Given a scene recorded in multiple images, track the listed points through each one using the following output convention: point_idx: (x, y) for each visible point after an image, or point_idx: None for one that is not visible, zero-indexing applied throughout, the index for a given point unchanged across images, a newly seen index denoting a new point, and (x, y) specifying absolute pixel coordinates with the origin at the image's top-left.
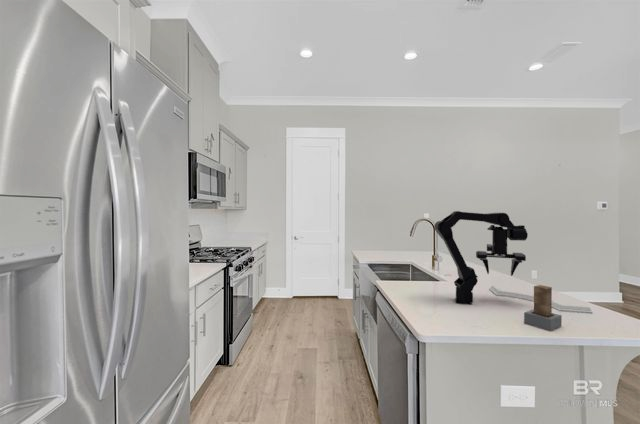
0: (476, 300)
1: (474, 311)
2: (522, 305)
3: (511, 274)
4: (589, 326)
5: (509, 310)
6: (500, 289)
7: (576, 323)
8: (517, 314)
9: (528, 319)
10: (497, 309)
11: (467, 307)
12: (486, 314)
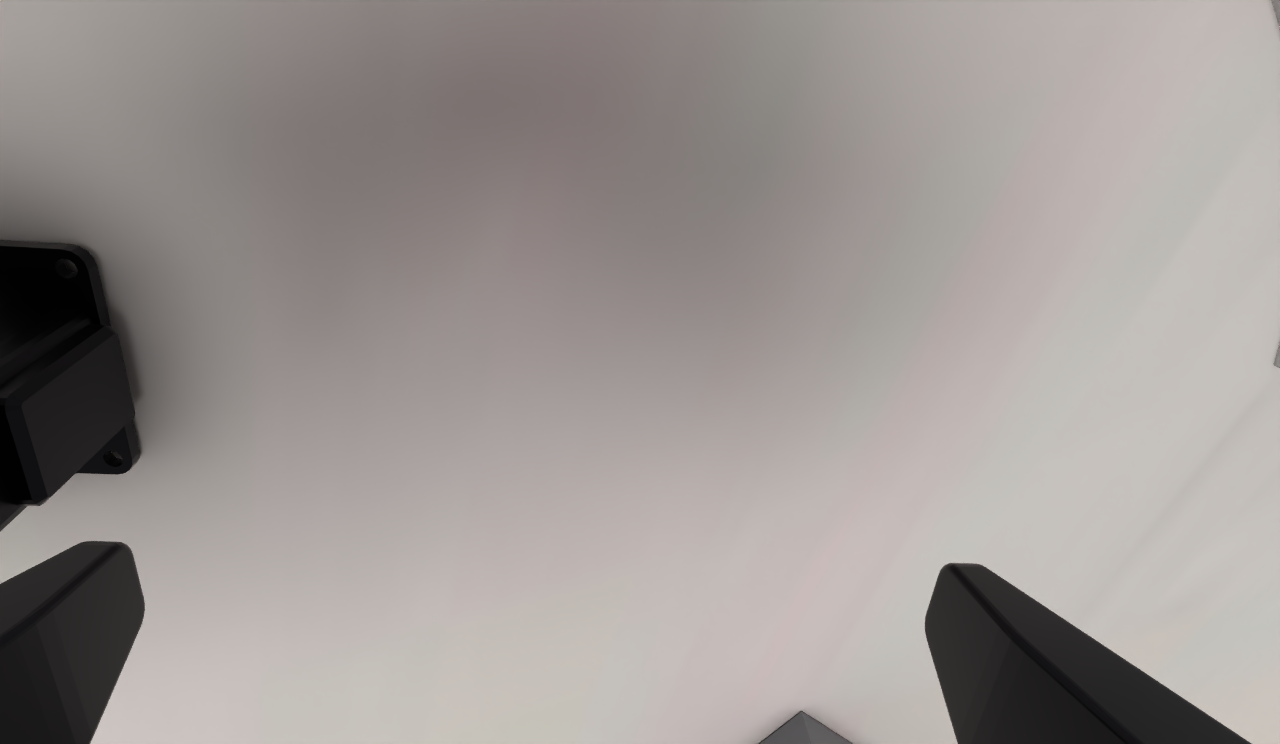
0: (193, 177)
1: (201, 689)
2: (904, 240)
3: (940, 673)
4: None
5: (624, 532)
6: None
7: None
8: (672, 637)
9: None
10: (481, 540)
11: None
12: (332, 734)
